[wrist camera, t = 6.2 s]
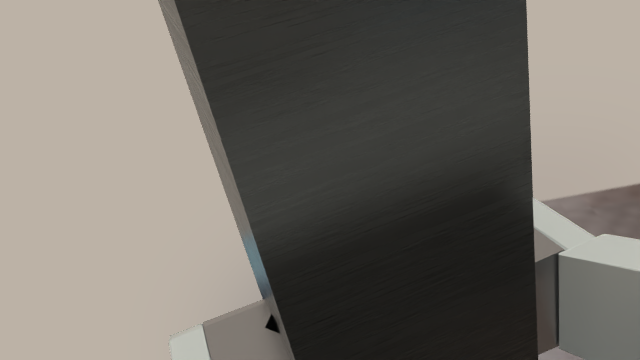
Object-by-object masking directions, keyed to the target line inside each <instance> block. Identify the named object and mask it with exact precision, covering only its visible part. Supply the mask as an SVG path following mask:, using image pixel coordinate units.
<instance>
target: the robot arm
mask: <svg viewBox="0 0 640 360" xmlns="http://www.w3.org/2000/svg"><path fill="white" fill-rule="evenodd" d="M533 220H534V250H535V280H536V310H537V340H538V355H539V354H542V353H544V352H546V351H548V350H551V349H553V348H555V347H557V346H559V349H561V350H564V351H566V352H569V353H571V354H574V355H576V356H578V357H581V358H583V359H586V360H640V240H639V239H633V238H627V237H621V236H615V235H609V234H602V235H600V236H597V237H595V236H593V235H592V234H590V233H589V232H587V231H585V230H584V229H582V228H581V227H579V226H578V225H576V224H574V223H573V222H571V221H570V220H568V219H567V218H565V217H563V216H562V215H560V214H559V213H557V212H556V211H554V210H553V209H551V208H549V207H548V206H546V205H545V204H543V203H542V202H540V201H538V200H537V199H535V198H534V197H533ZM169 348H170V356H171V360H291V359H290V356H289V354H288V351H287V349H286V347H285V344H284V342H283V339H282V337H281V335H280V334H279V333H278V331H277V328H276V325H275V322H274V319H273V316H272V313H271V311H270V309H269V306H268V304H267V302H266V300H265V299H263V300H260V301H258V302H255V303H253V304H250V305H247V306H245V307H242V308H239V309H237V310H234V311H232V312H229V313H226V314H224V315H221V316H219V317H216V318H214V319H211V320H208V321H205V322H204V323H203V324H199V325H196V326H194V327H191V328H189V329H186V330H183V331H181V332H178V333H176V334H173V335H171V336H170V339H169Z"/></svg>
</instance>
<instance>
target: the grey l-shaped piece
mask: <svg viewBox="0 0 640 360" xmlns="http://www.w3.org/2000/svg"><path fill="white" fill-rule="evenodd" d="M158 1H159V4H160V7H161V10H162V12H163V16H164V18H165V21H166V24H167V27H168V30H169V33H170V36H171V38H172V41H173V44H174V46H175V50H176V53H177V55H178V58H179V61H180V64H181V67H182V70H183V73H184V75H185V78H186V81H187V84H188V86H189V90H190V93H191V96H192V98H193V101H194V104H195V106H196V110H197V113H198V115H199V118H200V121H201V124H202V127H203V130H204V133H205V135H206V138H207V141H208V144H209V147H210V150H211V153H212V155H213V158H214V161H215V164H216V167H217V169H218V172H219V175H220V178H221V181H222V184H223V187H224V190H225V192H226V195H227V198H228V201H229V204H230V207H231V210H232V213H233V215H234V218H235V221H236V224H237V227H238V230H239V232H240V235H241V238H242V241H243V244H244V247H245V250H246V252H247V255H248V258H249V261H250V264H251V267H252V269H253V272H254V275H255V278H256V281H257V284H258V287H259V289H260V292H261V295H262V297H263V299H265V300H266V302H267V304H268V306H269V309H270V311H271V313H272V316H273V319H274V322H275V325H276V328H277V331H278V333H279V334H280V335H281V337H282V339H283V342H284V344H285V347H286V349H287V351H288V354H289V356H290V359H291V360H538V340H537V310H536V280H535V250H534V220H533V191H532V162H531V161H532V160H531V131H530V101H529V73H528V72H529V71H528V42H527V12H526V0H158Z"/></svg>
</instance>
